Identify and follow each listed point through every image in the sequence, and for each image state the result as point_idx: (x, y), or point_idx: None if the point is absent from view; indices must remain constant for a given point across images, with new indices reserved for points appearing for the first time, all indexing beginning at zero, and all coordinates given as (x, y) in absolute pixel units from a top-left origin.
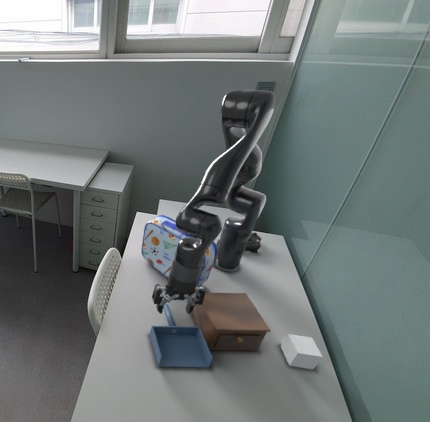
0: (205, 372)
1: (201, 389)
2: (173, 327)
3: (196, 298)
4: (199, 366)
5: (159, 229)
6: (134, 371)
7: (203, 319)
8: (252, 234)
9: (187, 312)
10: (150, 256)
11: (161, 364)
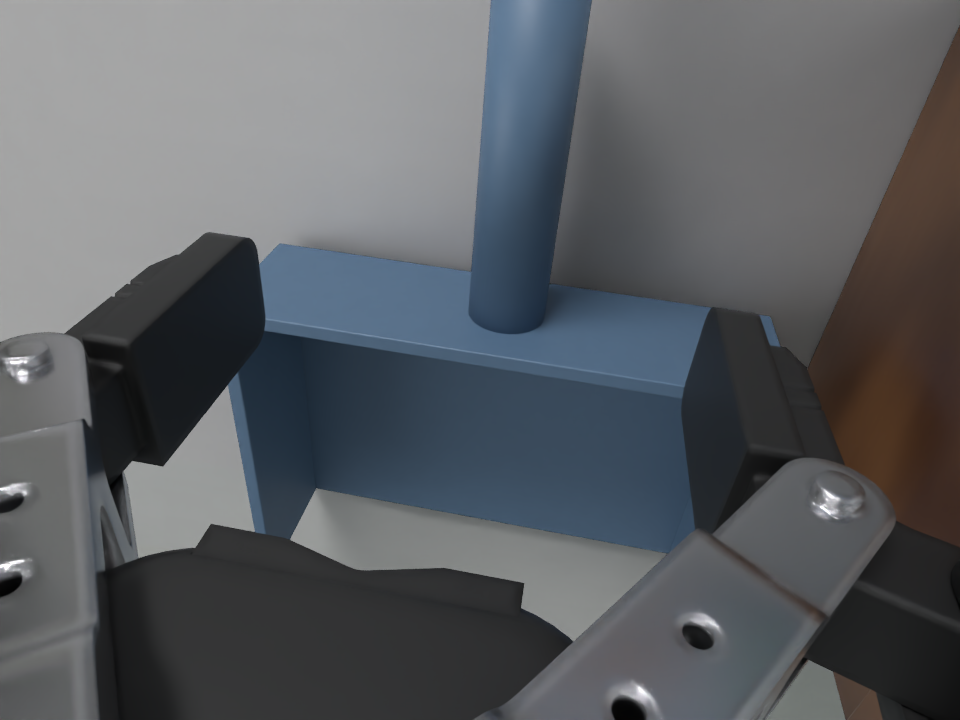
0: (629, 561)
1: (541, 618)
2: (468, 360)
3: (941, 649)
4: (603, 540)
5: None
6: (154, 473)
7: (928, 388)
8: None
9: (688, 387)
10: None
11: (330, 484)
